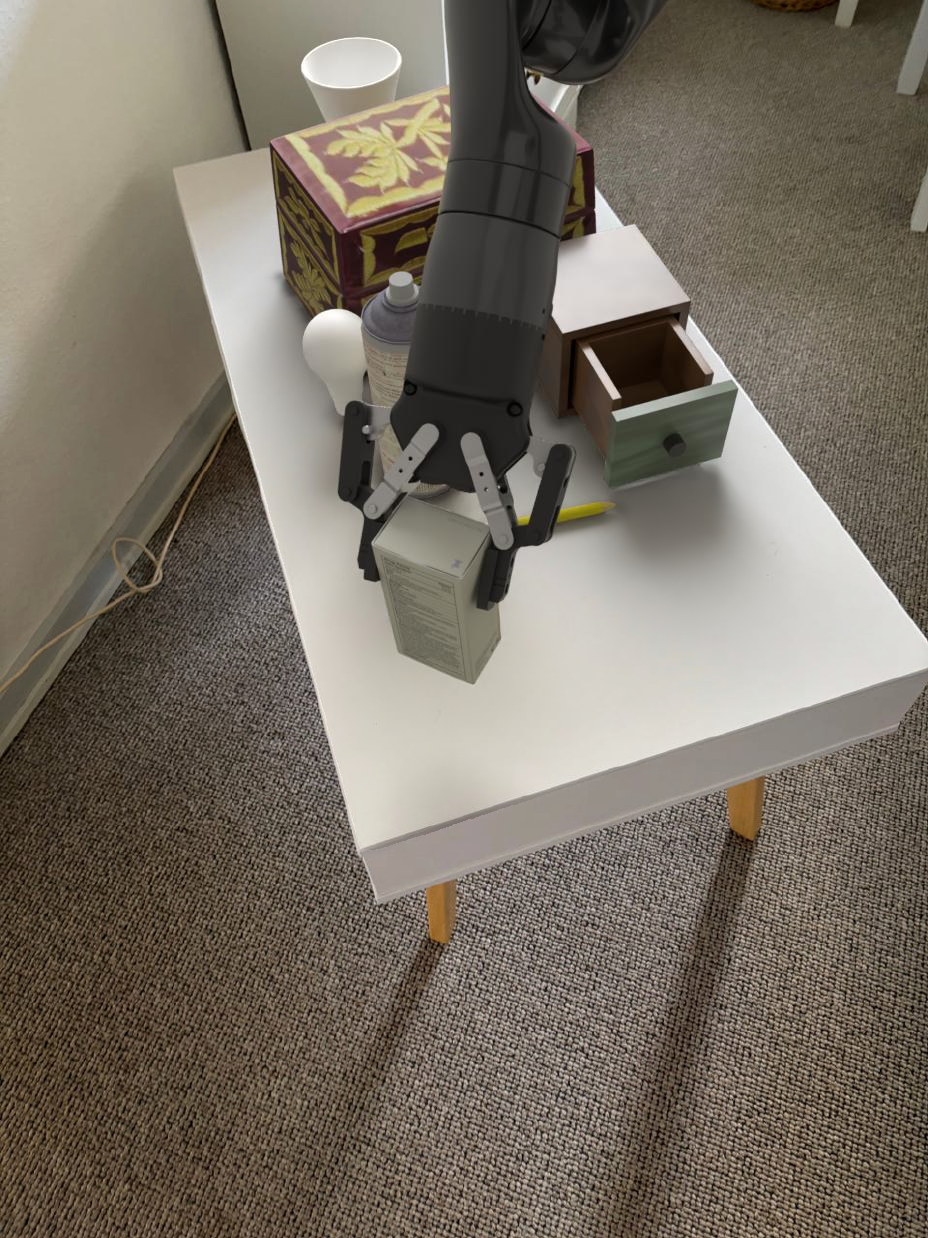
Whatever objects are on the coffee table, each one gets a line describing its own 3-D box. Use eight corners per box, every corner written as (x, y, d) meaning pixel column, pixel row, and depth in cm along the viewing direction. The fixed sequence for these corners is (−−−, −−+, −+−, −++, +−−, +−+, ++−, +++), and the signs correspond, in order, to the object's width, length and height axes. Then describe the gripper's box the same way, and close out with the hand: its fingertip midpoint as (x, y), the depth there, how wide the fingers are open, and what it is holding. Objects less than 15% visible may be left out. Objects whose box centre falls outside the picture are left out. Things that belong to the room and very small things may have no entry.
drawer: (727, 466, 84) (745, 398, 78) (614, 499, 83) (622, 432, 76) (669, 378, 91) (681, 308, 84) (562, 407, 89) (566, 338, 83)
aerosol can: (476, 471, 87) (467, 279, 70) (415, 511, 84) (392, 323, 68) (427, 430, 90) (408, 237, 73) (368, 467, 87) (334, 277, 71)
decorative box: (353, 381, 94) (329, 243, 81) (282, 275, 103) (251, 137, 91) (599, 288, 100) (611, 147, 88) (510, 196, 110) (510, 58, 97)
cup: (315, 166, 115) (293, 45, 103) (402, 151, 116) (390, 30, 105) (329, 217, 109) (308, 95, 98) (421, 200, 110) (411, 78, 99)
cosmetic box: (502, 639, 67) (499, 526, 57) (472, 689, 65) (464, 581, 55) (423, 605, 69) (406, 491, 59) (391, 653, 67) (368, 543, 57)
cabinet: (675, 387, 92) (691, 300, 83) (557, 419, 90) (562, 333, 82) (624, 310, 98) (634, 223, 90) (513, 339, 96) (514, 252, 88)
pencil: (429, 551, 82) (428, 543, 81) (426, 542, 82) (425, 534, 81) (618, 511, 83) (619, 504, 82) (615, 503, 84) (616, 495, 83)
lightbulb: (368, 382, 94) (353, 285, 84) (393, 422, 90) (380, 326, 81) (308, 403, 92) (286, 307, 83) (331, 445, 89) (311, 349, 80)
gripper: (341, 280, 54) (295, 574, 57) (597, 326, 51) (530, 633, 54) (387, 300, 61) (343, 560, 64) (614, 341, 58) (554, 612, 61)
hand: (429, 593), depth 59 cm, fingers closed on cosmetic box, 6 cm apart
